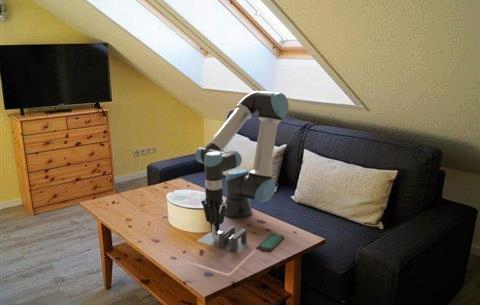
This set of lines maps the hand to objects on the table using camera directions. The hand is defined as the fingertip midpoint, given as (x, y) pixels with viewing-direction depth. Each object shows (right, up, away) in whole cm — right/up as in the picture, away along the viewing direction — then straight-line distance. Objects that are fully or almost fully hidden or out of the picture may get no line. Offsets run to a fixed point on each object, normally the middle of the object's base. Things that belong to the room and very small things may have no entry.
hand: (215, 237), depth 177 cm
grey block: (+5, -2, -2) cm, 6 cm away
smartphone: (+25, -3, -1) cm, 25 cm away
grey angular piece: (+4, -3, -1) cm, 5 cm away
